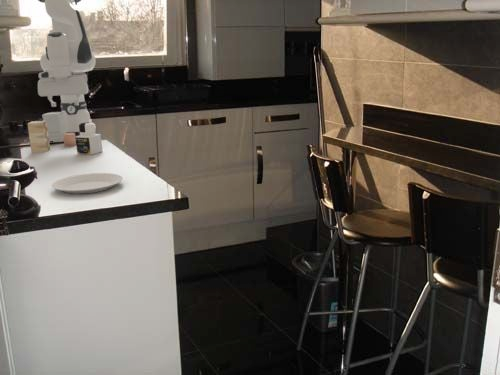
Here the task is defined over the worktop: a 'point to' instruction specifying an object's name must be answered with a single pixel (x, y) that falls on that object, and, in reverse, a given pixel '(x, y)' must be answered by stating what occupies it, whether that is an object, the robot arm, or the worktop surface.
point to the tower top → (37, 127)
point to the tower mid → (38, 137)
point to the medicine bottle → (88, 139)
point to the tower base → (40, 147)
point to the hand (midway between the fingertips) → (65, 106)
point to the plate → (87, 183)
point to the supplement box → (55, 125)
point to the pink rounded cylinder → (69, 139)
